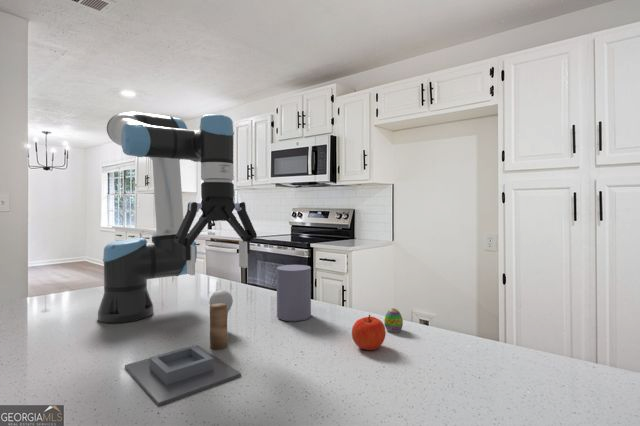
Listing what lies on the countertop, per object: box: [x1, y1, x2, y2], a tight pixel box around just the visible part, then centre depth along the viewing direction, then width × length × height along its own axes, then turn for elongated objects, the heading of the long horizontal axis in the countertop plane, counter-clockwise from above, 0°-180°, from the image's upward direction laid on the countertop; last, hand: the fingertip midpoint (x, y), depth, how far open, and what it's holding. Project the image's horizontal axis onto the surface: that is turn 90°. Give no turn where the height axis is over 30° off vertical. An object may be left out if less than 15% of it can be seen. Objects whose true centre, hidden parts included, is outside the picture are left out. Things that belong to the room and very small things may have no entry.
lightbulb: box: [208, 289, 234, 317], centre depth 101 cm, size 6×6×11 cm
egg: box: [383, 308, 404, 333], centre depth 100 cm, size 5×5×6 cm
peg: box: [209, 303, 228, 351], centre depth 89 cm, size 4×4×10 cm
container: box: [276, 264, 312, 322], centre depth 113 cm, size 10×10×15 cm
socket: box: [124, 345, 242, 407], centre depth 76 cm, size 20×16×3 cm
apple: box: [351, 314, 386, 351], centre depth 89 cm, size 8×8×8 cm
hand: (218, 270), depth 89 cm, fingers open, 13 cm apart
